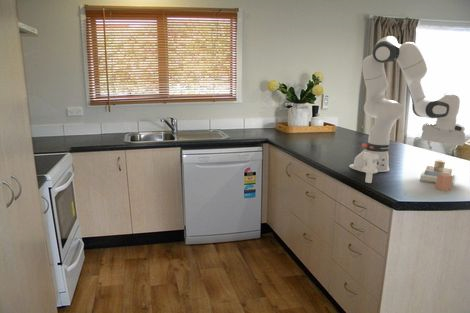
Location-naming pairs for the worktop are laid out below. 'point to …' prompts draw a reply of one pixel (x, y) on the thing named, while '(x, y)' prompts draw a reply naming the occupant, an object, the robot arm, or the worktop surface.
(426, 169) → the divided tray
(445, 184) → the terracotta block
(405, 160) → the worktop surface
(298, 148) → the worktop surface
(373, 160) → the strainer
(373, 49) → the robot arm
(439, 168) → the block
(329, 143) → the worktop surface
